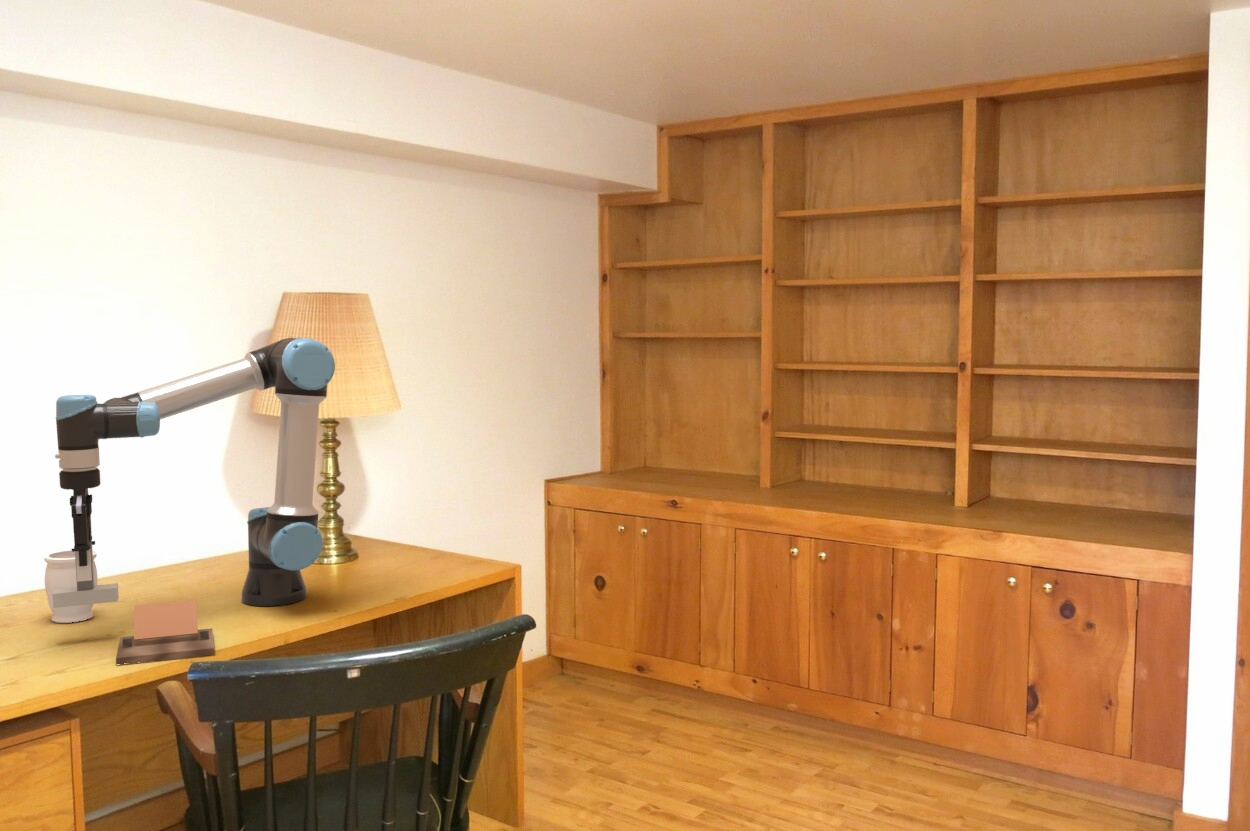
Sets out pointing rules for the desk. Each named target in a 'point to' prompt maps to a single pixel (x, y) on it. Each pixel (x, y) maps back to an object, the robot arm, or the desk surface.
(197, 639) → the board
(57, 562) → the jar
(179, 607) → the tile
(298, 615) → the desk surface
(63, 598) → the paddle
